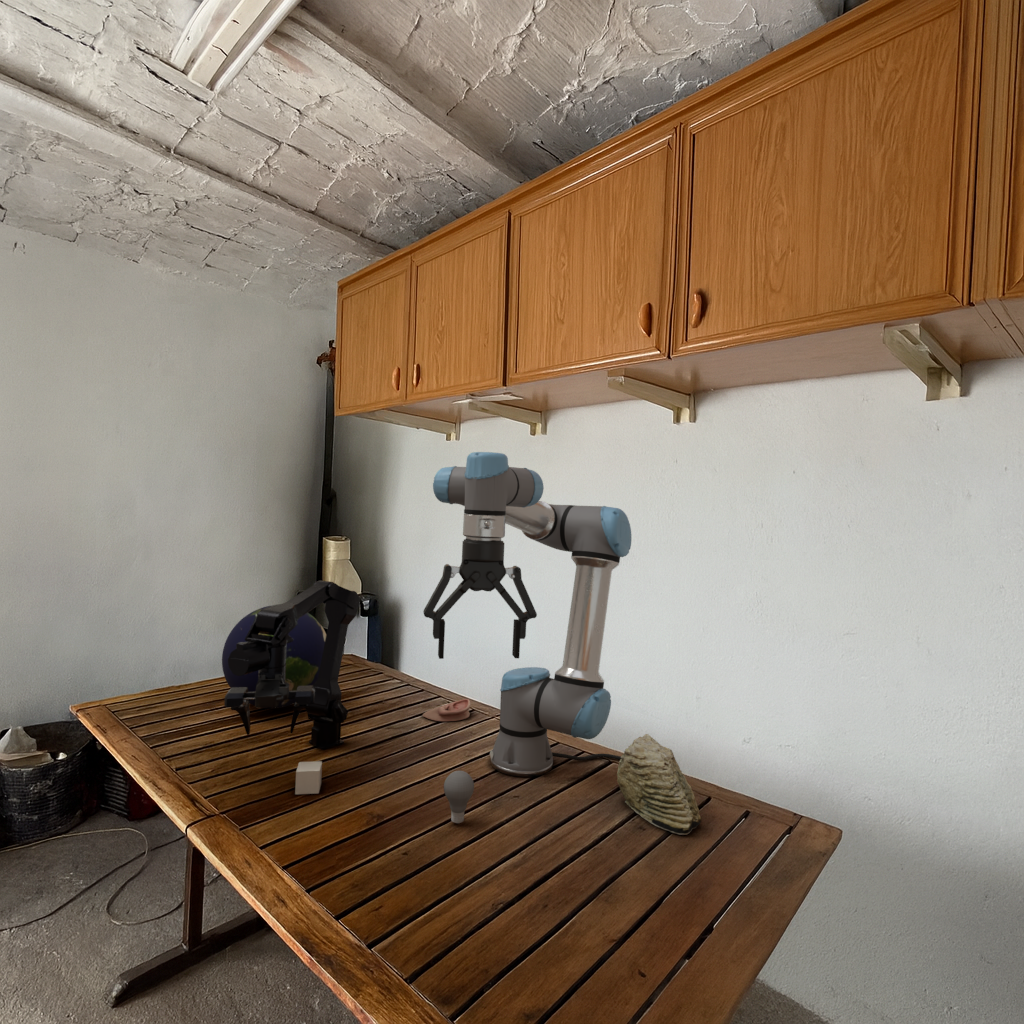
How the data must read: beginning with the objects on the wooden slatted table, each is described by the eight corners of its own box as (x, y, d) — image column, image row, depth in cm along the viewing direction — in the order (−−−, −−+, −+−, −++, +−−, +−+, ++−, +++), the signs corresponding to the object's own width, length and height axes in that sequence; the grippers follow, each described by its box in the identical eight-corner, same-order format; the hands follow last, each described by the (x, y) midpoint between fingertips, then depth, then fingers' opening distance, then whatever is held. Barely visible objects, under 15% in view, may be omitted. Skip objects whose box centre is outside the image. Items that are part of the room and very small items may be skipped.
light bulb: (442, 814, 128) (444, 765, 128) (472, 814, 129) (474, 765, 129) (441, 829, 122) (444, 778, 122) (472, 829, 123) (475, 778, 123)
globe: (289, 685, 209) (292, 594, 208) (348, 705, 191) (352, 606, 191) (199, 706, 185) (203, 604, 184) (258, 732, 167) (262, 619, 167)
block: (295, 794, 134) (295, 771, 134) (298, 784, 139) (299, 761, 139) (318, 793, 135) (319, 770, 135) (321, 783, 140) (322, 761, 140)
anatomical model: (419, 705, 182) (432, 693, 194) (418, 719, 182) (431, 706, 194) (463, 710, 180) (474, 698, 191) (463, 724, 180) (473, 711, 191)
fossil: (629, 792, 142) (632, 725, 142) (706, 824, 129) (710, 751, 129) (606, 804, 135) (609, 735, 135) (684, 839, 122) (687, 763, 122)
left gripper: (219, 676, 133) (217, 749, 133) (312, 674, 137) (310, 745, 137) (230, 662, 144) (228, 730, 144) (316, 660, 148) (314, 726, 148)
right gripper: (414, 538, 107) (409, 662, 108) (556, 542, 112) (551, 661, 112) (412, 535, 115) (407, 651, 115) (546, 539, 119) (541, 651, 120)
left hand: (270, 733), depth 143 cm, fingers open, 9 cm apart
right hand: (478, 656), depth 114 cm, fingers open, 13 cm apart
